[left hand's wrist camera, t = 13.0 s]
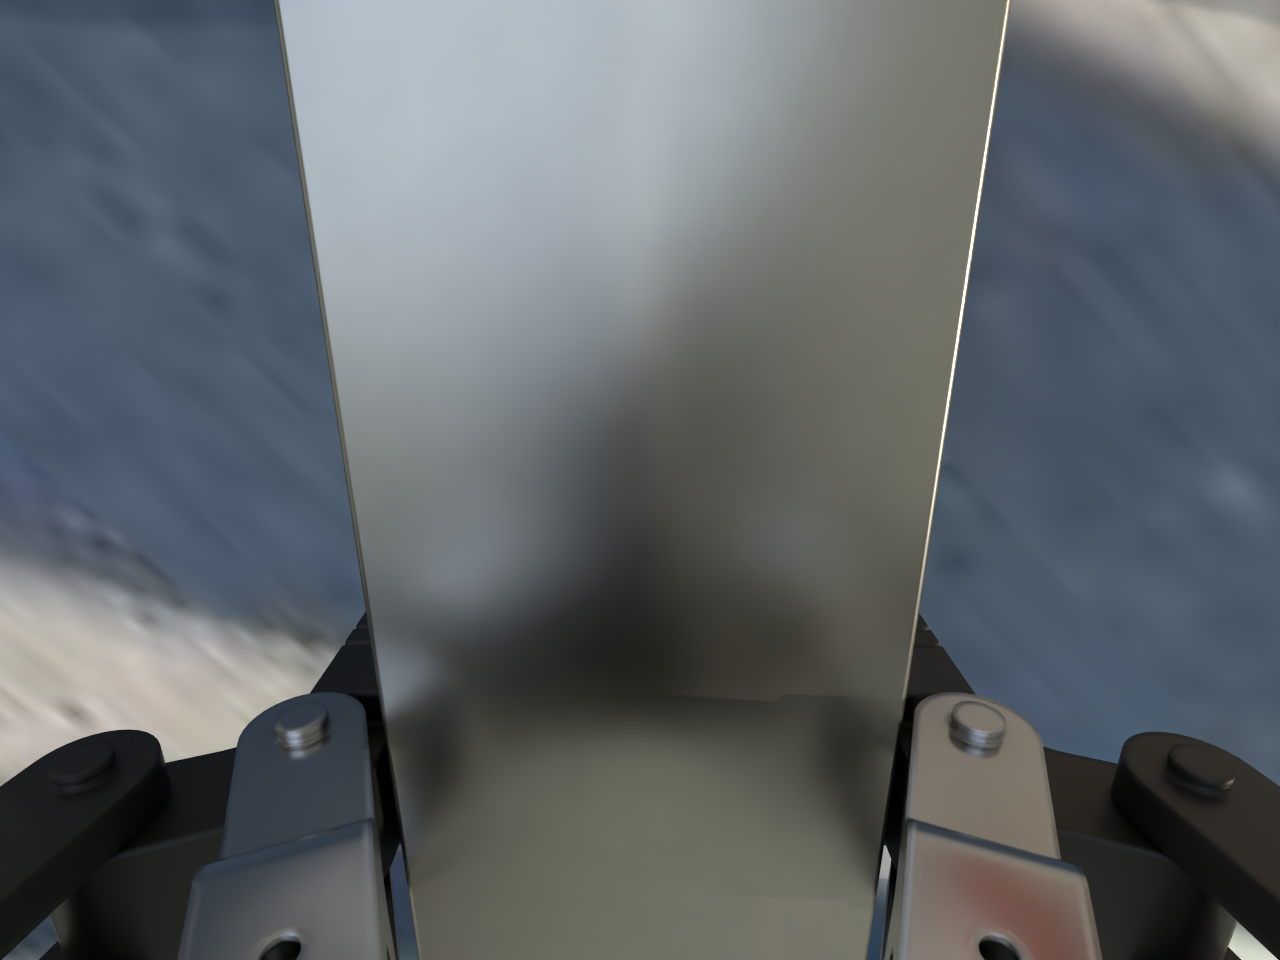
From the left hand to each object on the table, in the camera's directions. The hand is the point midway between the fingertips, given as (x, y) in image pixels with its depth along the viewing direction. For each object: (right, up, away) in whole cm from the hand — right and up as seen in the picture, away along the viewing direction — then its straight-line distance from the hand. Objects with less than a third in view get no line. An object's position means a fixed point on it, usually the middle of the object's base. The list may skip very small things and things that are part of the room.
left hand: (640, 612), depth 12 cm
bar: (0, +9, +1) cm, 9 cm away
